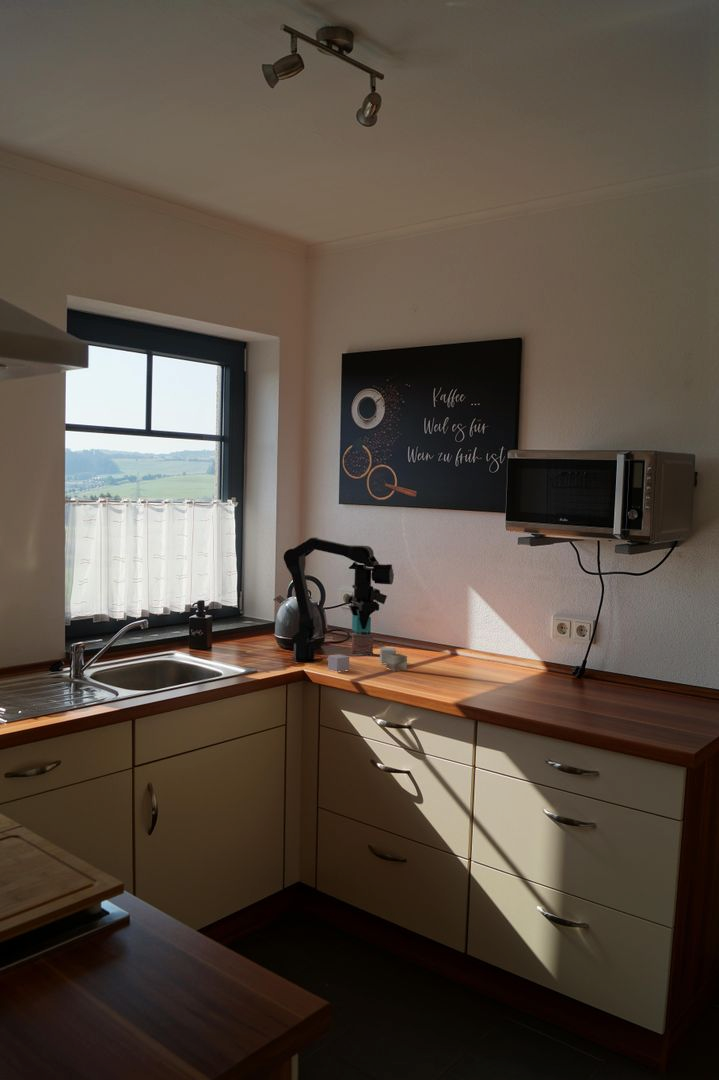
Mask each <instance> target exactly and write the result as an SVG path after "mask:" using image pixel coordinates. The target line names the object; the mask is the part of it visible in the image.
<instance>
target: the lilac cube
mask: <svg viewBox="0 0 719 1080" xmlns="http://www.w3.org/2000/svg"><path fill="white" fill-rule="evenodd" d="M327 658H328V659H327V670H328V669H329V670H333V671H337V672H338V671H345V670H349V671H350V656H348V655H344V654H340V653H339V654H330V655H328V657H327ZM329 670H328V671H329Z"/></svg>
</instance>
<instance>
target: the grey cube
mask: <svg viewBox="0 0 719 1080" xmlns="http://www.w3.org/2000/svg"><path fill="white" fill-rule="evenodd" d="M379 650H380V651H379V654H380V655H379V662H380V661H381V662H380V664H381V663H387V654H397V649H396V648H395V647H382V646H381V647H380V649H379Z"/></svg>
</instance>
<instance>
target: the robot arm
mask: <svg viewBox="0 0 719 1080" xmlns="http://www.w3.org/2000/svg"><path fill="white" fill-rule="evenodd" d="M314 551H319V552H324V553H328V554H334V555H337V556H342V557H345V558H347V559H348V560H351V561H352V562H353V563H352V564H351V565H350V566H349V567H348V569H349V570H354V582H353V583H354V584H352V585H351V586H352V588H353V594H351V595H349V594H348V595H347V596H346V597H345V604H347V605H348V607H349V610H350V612H351V614H352V615H358V617H359V620H360V624H361V627H362V629H366V625H367V622H368V619H369V617H371V615H372V614H373V613H374V612H377V611H380V604H382V605H385V602H386V600H387V597H388V595H386V594H383V593H381V591H380V589H377V588H375V587H373V585H372V582H374V584H375V585H377V584H378V585H379V584H380V585H389V586H390V585H393V582H394V576H395V575H394V569H393V564H391V563H390V564H388V563H387V564H381V563H379V561H378V559H377V558H376V556H375V553H374V550H373V548H372V547H371V546H369V545H355V544H354V545H353V544H352V545H350V544H343V543H340V542H335V541H330V540H325V539H321V538H319V537H317V536H316V537H310V538H308V539H306V541H304V542H302V543H301V544H298V546H295V547H293V548H289V549H287V550H285V552H284V553H283V560H284V564H285V566H286V569H287V571H289V574H290V575H291V578H292V584H293V588H294V593H295V599H296V603H297V609H298V623H297V625H298V626H297V629H298V631H297V632H296V633H295V634H294V635H293V636H292V637H291V639H292V644H293V655H292V656H291V659H292V660H294V661H296V662H313V661H315V651H316V650H315V646H314V642H313V641H315V639H316V637H317V636H318V635H319V634H320V631H321V627H322V624H321V622H320V615H317V616H316V615H315V613H314V612H313V609H312V603H311V599H310V594H309V589H308V583H307V580H306V576H305V570H306V561H307V560H306V557H308V556H309V555H310V554H311V553H312V552H314Z"/></svg>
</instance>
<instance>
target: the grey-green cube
mask: <svg viewBox="0 0 719 1080" xmlns="http://www.w3.org/2000/svg"><path fill="white" fill-rule="evenodd" d="M385 665H386V667H385V669H386V668H389V669H391V670H394V671H395V670H407V667H408V656H407V655H405V654H401V653H396V654H387V663H386V664H385ZM391 670H390V671H391ZM407 671H408V670H407Z"/></svg>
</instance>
